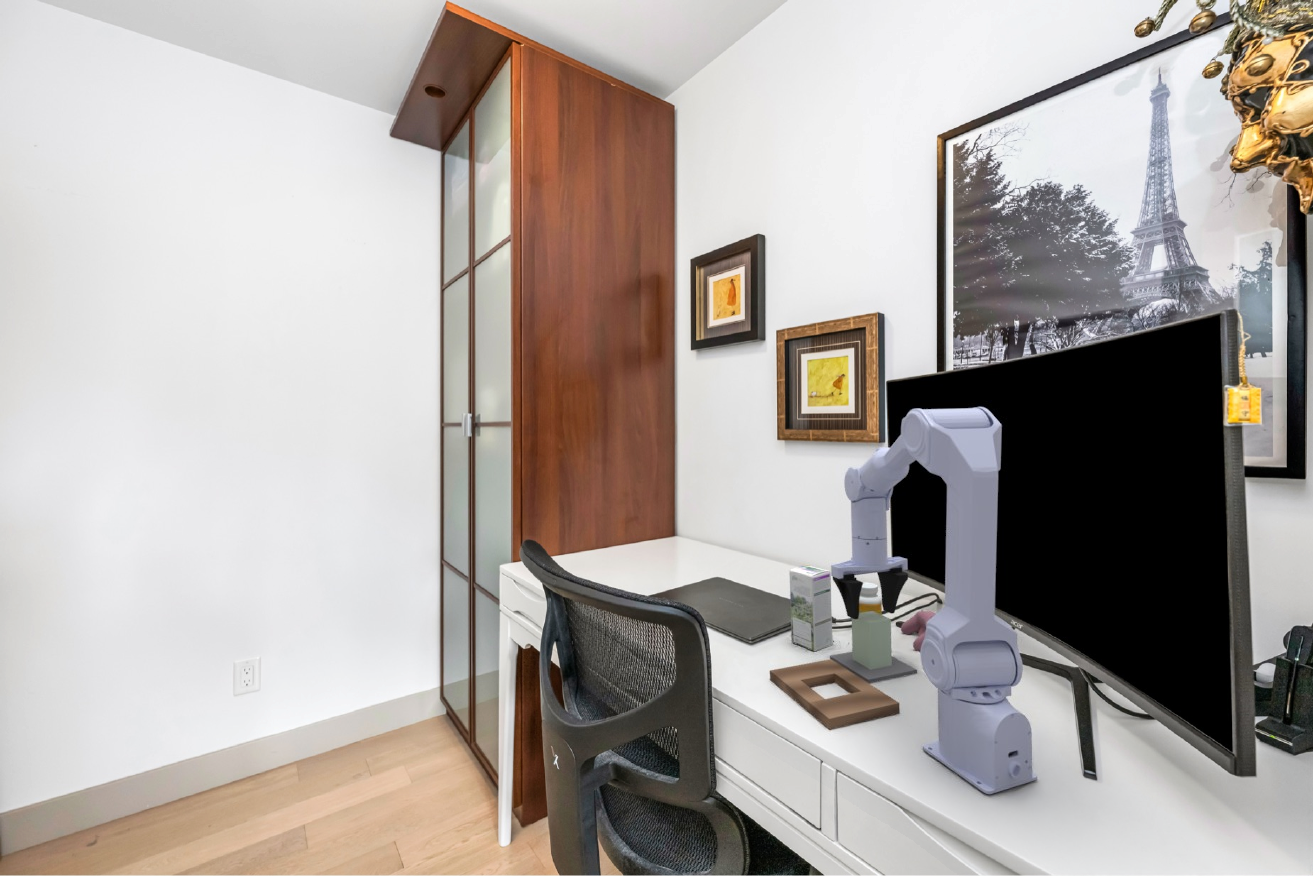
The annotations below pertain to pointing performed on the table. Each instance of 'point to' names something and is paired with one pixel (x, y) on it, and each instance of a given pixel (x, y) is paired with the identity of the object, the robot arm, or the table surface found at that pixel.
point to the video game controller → (917, 626)
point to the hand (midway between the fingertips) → (871, 614)
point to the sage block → (872, 640)
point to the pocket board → (838, 709)
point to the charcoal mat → (874, 674)
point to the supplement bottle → (870, 599)
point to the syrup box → (811, 607)
